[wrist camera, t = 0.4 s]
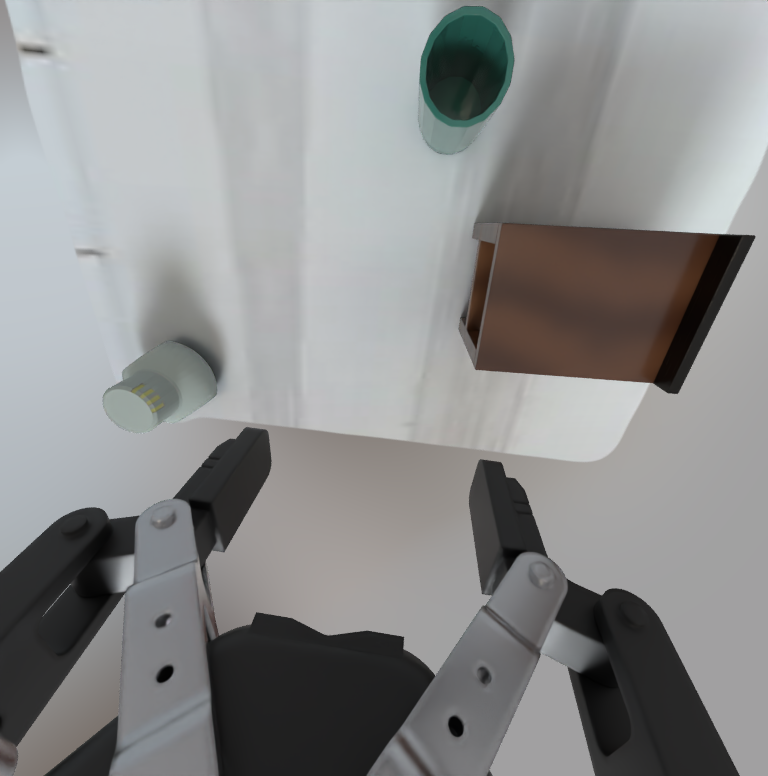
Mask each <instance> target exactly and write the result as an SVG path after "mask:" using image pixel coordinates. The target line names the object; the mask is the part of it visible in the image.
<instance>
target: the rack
mask: <svg viewBox="0 0 768 776" xmlns="http://www.w3.org/2000/svg"><path fill="white" fill-rule="evenodd" d="M472 238H473V239H477V240H479V243H478V249H477V256H476V262H475V268H474V275H473V281H472V287H471V293H470V300H469V306H468V312H467V318H460V323H459V331H460V334H461V336H462V338H463V341H464V343H465V346H466V348H467V351H468V353H469V355H470V358H471V360H472V363H473V365H474V367H475V369H476V370H486V371H499V372H512V373H526V374H539V375H552V376H565V377H579V378H592V379H605V380H619V381H632V382H645V383H653V384H655V385H656V386H658V387H659V388H661V389H662V390H664V391H665V392H667V393H672V394H678V393H679V391H680V389H681V386H682V385H683V383H684V380H685V379H686V377H687V374H688V373H689V371H690V369H691V367H692V364H693V362H694V360H695V358H696V356H697V354H698V352H699V350H700V348H701V346H702V344H703V342H704V340H705V338H706V336H707V334H708V332H709V330H710V328H711V326H712V324H713V322H714V320H715V318H716V316H717V314H718V312H719V310H720V308H721V306H722V304H723V302H724V300H725V298H726V296H727V294H728V292H729V290H730V287H731V286H732V283H733V281H734V280H735V277H736V275H737V273H738V271H739V269H740V267H741V265H742V263H743V261H744V259H745V257H746V255H747V253H748V251H749V249H750V247H751V245H752V243H753V241H754V239H755V236H754V235H753V236H752V235H730V234H708V233H688V232H669V231H650V230H630V229H611V228H592V227H572V226H553V225H534V224H514V223H475V224H474V230H473V237H472Z"/></svg>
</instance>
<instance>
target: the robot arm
mask: <svg viewBox="0 0 768 776" xmlns="http://www.w3.org/2000/svg"><path fill="white" fill-rule="evenodd" d="M270 469H271V452H270V443H269V435H268V431H267V430H264V429H257V428H249V427H246V428H245V429H244V430H243V431H242V432H241V433H240V435H239V436H238V437H237V438H236V439H229V440H227V441H225V442H224V443H222V444H221V445H219V446H217V447H216V449H215V450H214V451H213V452H212V453H211V454H210V456H209V458H208V459H206V460H205V462H204V463H203V464H202V466H201V467H199V469H198V470H197V471H196V472H195V473H194V474H193V476H192V477H191V478H190V479H189V480H188V481H187V483H186V484H185V485H184V486H183V487H182V488H181V490H180V491H179V492H178V493H177V494H176V495H175V497H174V498H173V499H169V500H164V501H161V502H158V503H156V504H154V505H152V506H151V507H149V508H148V509H146V510H145V511H144V512H143V513H142V514H141V515H140V516H133V517H126V518H117V519H109V518H108V516H107V514H106V512H105V511H104V510H102V509H100V508H85V509H80V510H76V511H74V512H71V513H69V514H67V515H65V516H63V517H61V518H60V519H58V520H57V521H56V522H54V523H53V524H52V525H51V526H50V527H49V528H48V529H46V530H45V531H44V532H43V533H42V534H41V535H40V536H39V537H38V538H37V539H36V540H34V541H33V542H32V543H31V544H30V545H29V546H28V547H27V548H26V549H25V550H24V551H23V552H22V553H21V554H19V555H18V556H17V557H16V558H15V559H14V560H13V561H12V562H11V563H10V564H9V565H8V566H6V567H5V568H4V569H3V570H2V571H1V572H0V776H13V774H14V772H15V769H16V766H17V761H18V751H17V748H16V747H17V745H18V744H19V743H20V741H21V740H22V738H23V737H24V736H25V734H26V733H27V731H28V730H29V728H30V727H31V726H32V724H33V723H34V721H35V720H36V719H37V717H38V716H39V714H40V713H41V711H42V710H43V709H44V707H45V706H46V704H47V703H48V701H49V700H50V699H51V697H52V696H53V694H54V693H55V692H56V690H57V689H58V687H59V686H60V685H61V683H62V682H63V680H64V679H65V677H66V676H67V675H68V673H69V672H70V670H71V669H72V668H73V666H74V665H75V663H76V662H77V660H78V659H79V658H80V656H81V655H82V653H83V652H84V650H85V649H86V648H87V646H88V645H89V643H90V642H91V641H92V639H93V638H94V636H95V635H96V634H97V632H98V630H99V629H100V628H101V626H102V625H103V624H104V622H105V621H106V619H107V618H108V616H109V615H110V614H111V612H112V611H113V609H114V608H115V607H116V605H117V604H118V602H119V601H120V599H121V598H122V597H123V595H124V594H125V604H124V623H123V641H122V659H121V678H120V696H119V715H118V716H117V717H116V718H114V719H113V720H112V721H111V722H110V723H109V724H107V725H106V726H105V727H103V728H102V729H101V730H100V731H98V732H97V733H96V734H95V735H94V736H92V737H91V738H90V739H89V740H87V741H86V742H85V743H84V744H82V745H81V746H80V747H79V748H77V749H76V750H75V751H74V752H73V753H71V754H70V755H69V756H68V757H66V758H65V759H64V760H63V761H62V762H60V763H59V764H58V765H57V766H55V767H54V768H53V769H52V770H50V771H49V772H48V773H47V774H45V775H44V776H492V774H491V772H490V770H489V769H490V767H491V765H492V763H493V760H494V758H495V756H496V754H497V752H498V749H499V747H500V745H501V743H502V740H503V738H504V736H505V734H506V732H507V729H508V727H509V725H510V723H511V720H512V718H513V716H514V714H515V712H516V709H517V707H518V705H519V703H520V701H521V698H522V696H523V694H524V691H525V690H526V687H527V685H528V683H529V680H530V678H531V676H532V674H533V672H534V669H535V667H536V665H537V663H538V660H539V658H540V653H542V654H544V655H546V656H548V657H550V658H552V659H554V660H556V661H558V662H559V663H561V664H563V665H565V666H567V667H568V671H569V675H570V679H571V682H572V686H573V690H574V694H575V698H576V702H577V706H578V710H579V714H580V718H581V721H582V726H583V729H584V733H585V737H586V741H587V745H588V749H589V753H590V756H591V761H592V765H593V768H594V772H595V776H740V775H739V773H738V772H737V770H736V768H735V766H734V764H733V762H732V760H731V758H730V756H729V754H728V752H727V750H726V748H725V746H724V744H723V742H722V740H721V738H720V736H719V734H718V732H717V730H716V728H715V726H714V724H713V722H712V721H711V718H710V716H709V714H708V713H707V711H706V709H705V707H704V705H703V703H702V701H701V699H700V697H699V695H698V693H697V691H696V689H695V687H694V685H693V683H692V681H691V679H690V677H689V675H688V673H687V671H686V669H685V667H684V665H683V663H682V661H681V659H680V658H679V655H678V653H677V652H676V650H675V648H674V646H673V644H672V642H671V640H670V638H669V636H668V634H667V632H666V630H665V628H664V626H663V624H662V622H661V620H660V619H659V617H658V616H657V614H656V613H655V612H654V610H653V609H652V608H651V607H650V606H649V605H647V603H646V602H644V601H643V600H642V599H640V598H639V597H637V596H636V595H634V594H632V593H630V592H628V591H625V590H622V589H609V590H607V591H605V593H604V594H603V595H599V594H597V593H595V592H593V591H590V590H588V589H586V588H584V587H581V586H579V585H577V584H575V583H573V582H571V581H570V580H568V579H567V578H566V577H565V575H564V573H563V571H562V570H561V569H560V568H559V566H558V565H557V564H556V563H555V562H553V561H552V560H551V559H550V558H548V556H547V554H546V551H545V548H544V545H543V542H542V539H541V536H540V533H539V530H538V527H537V525H536V522H535V519H534V516H533V515H532V510H531V507H530V505H529V501H528V498H527V495H526V493H525V490H524V489H523V488H522V486H521V485H520V484H519V483H518V481H517V480H516V479H515V478H507V477H506V475H505V471H504V468H503V465H502V463H501V462H496V461H488V460H479V462H478V465H477V469H476V472H475V475H474V479H473V482H472V486H471V490H470V495H469V507H470V514H471V520H472V527H473V535H474V542H475V548H476V556H477V562H478V570H479V576H480V583H481V590H482V594H485V595H492V597H491V598H490V599H489V601H488V602H487V604H486V605H485V606H482V607H481V609H480V610H479V612H478V613H477V614H476V616H475V617H474V619H473V620H472V622H471V623H470V625H469V626H468V628H467V629H466V631H465V632H464V634H463V635H462V637H461V638H460V640H459V641H458V643H457V644H456V646H455V647H454V649H453V650H452V652H451V653H450V655H449V657H448V658H447V659H446V661H445V662H444V664H443V665H442V667H441V668H440V670H439V671H438V673H437V675H436V676H435V675H434V673H433V672H432V671H431V670H430V669H429V668H428V667H427V666H426V665H425V664H424V663H423V662H422V661H421V660H420V659H418V658H417V657H416V656H414V655H413V654H411V653H410V652H408V651H406V650H404V649H403V645H404V637H401V636H396V635H390V634H384V633H378V632H372V631H361V632H353V633H346V634H338V635H330V636H327V635H324V634H322V633H320V632H318V631H316V630H314V629H312V628H310V627H308V626H306V625H304V624H302V623H300V622H298V621H296V620H294V619H292V618H287V617H281V616H275V615H268V614H263V613H256V615H255V617H254V619H253V622H252V624H251V625H246V626H242V627H239V628H235V629H233V630H230V631H228V632H226V633H224V634H222V635H220V636H219V633H218V628H217V624H216V619H215V614H214V607H213V601H212V594H211V588H210V581H209V575H208V568H207V563H206V559H207V558H208V556H209V554H210V553H211V551H212V550H213V551H219V552H225V550H226V548H227V546H228V545H229V543H230V541H231V540H232V538H233V536H234V534H235V533H236V531H237V529H238V527H239V526H240V524H241V522H242V521H243V519H244V517H245V515H246V514H247V512H248V510H249V508H250V507H251V505H252V503H253V501H254V500H255V498H256V496H257V494H258V493H259V491H260V489H261V487H262V486H263V484H264V482H265V481H266V479H267V477H268V475H269V472H270ZM69 584H71V585H70V586H69ZM68 586H69V587H68ZM67 587H68V588H67ZM66 588H67V589H66ZM65 589H66V590H65ZM64 590H65V592H64V593H63V594H62V592H63V591H64ZM61 594H62V595H61ZM60 595H61V596H60ZM59 596H60V597H59ZM58 597H59V599H58V600H57V601H56V599H57V598H58ZM55 601H56V602H55ZM54 602H55V603H54ZM53 603H54V604H53ZM52 604H53V606H52V607H51V608H50V609H49V607H50V606H51V605H52ZM48 609H49V610H48ZM47 610H48V611H47ZM46 611H47V612H46ZM45 612H46V614H45ZM44 614H45V615H44ZM43 615H44V616H43Z"/></svg>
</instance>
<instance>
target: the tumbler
mask: <svg viewBox="0 0 768 776" xmlns="http://www.w3.org/2000/svg"><path fill="white" fill-rule="evenodd" d="M513 66H514V52H513V46H512V39H511V35H510V33H509V32H508V30H507V28H506V26H505V25H504V23H503V21H502V19H501V18H500V17H499V16H498V15H496V14H494V13H493V12H491V11H490V10H488V9H487V8H485V7H483V6H464V7H461V8H459V9H458V10H456V11H454V12H452V13H450V14H448V15H446V16H445V17H444V18H443V19H442V20H441V21H440V23H439V24H438V25H437V26H436V28H435V29H434V30H433V31H432V32H431V34H430V35H429V38H428V41H427V43H426V46H425V48H424V51H423V53H422V56H421V65H420V79H419V111H418V122H419V127H420V131H421V134H422V137H423V139H424V140H425V142H426V143H427V145H428V146H429V147H430V148H431V149H433V150H434V151H436V152H438V153H441V154H455V153H458V152H460V151H462V150H464V149H466V148H467V147H468V146H469V145H470V144H471V143H472V142H473V141H474V140H475V139H476V138H477V136H478V135H479V133H480V132H481V131H482V129H483V128H484V126H485V125H486V124H487V122H488V121H489V119H490V118H491V117H492V115H493V114H494V112H495V111H496V110H497V108H498V107H499V105H500V104H501V102H502V100H503V98H504V96H505V94H506V92H507V90H508V88H509V86H510V83H511V78H512V72H513Z"/></svg>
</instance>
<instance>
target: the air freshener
mask: <svg viewBox="0 0 768 776" xmlns="http://www.w3.org/2000/svg"><path fill="white" fill-rule="evenodd" d="M122 377H123V381H121V382H120V383H118V384H116V385H114V386H112V387H111V388H109V389H108V390H106V392H105V393H104V395H103V407H104V410H105V412H106V414H107V416H108V417H109V418H110V420H111V421H112V422H113V423H115V424H116V425H117V426H118V427H120V428H122V429H124V430H126V431H129V432H133V433H147V432H150V431H151V430H153V429H154V428H155V427H157V426H158V425H159V424H161V423H162V422H168V423H176V422H178V421H180V420H182V419H183V418H185V417H186V416H188V415H190V414H191V413H193V412H194V411H196V410H197V409H199V408H200V407H201V406H203V405H204V404H206V403H207V402H208V401H210V400H211V399H212V398H213V397H215V396H216V395H217V384H216V379H215V376H214V374H213V372H212V370H211V368H210V366H209V365H208V363H207V362H206V361H205V360H204V359H203V358H202V357H201V356H200V355H199V354H198V353H196V352H195V351H194V350H192V349H191V348H189V347H187V346H185V345H182V344H179V343H177V342H172V341H166V342H164V343H162V344H160V345H159V346H157V347H155V348H154V349H152V350H150V351H149V352H147V353H146V354H144V355H143V356H141V357H140V358H138V359H137V360H136V361H134V362H133V363H132V364H130V365H129V366H128V367H126V368H125V369H124V370H123V372H122Z"/></svg>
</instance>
